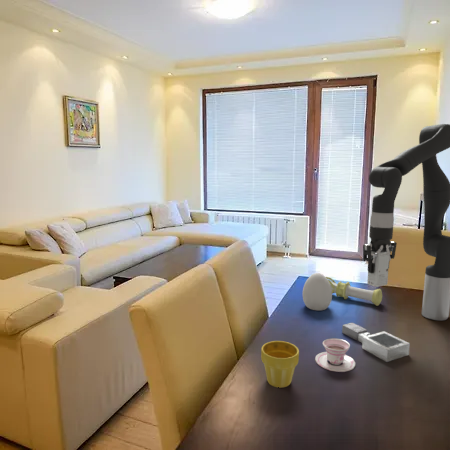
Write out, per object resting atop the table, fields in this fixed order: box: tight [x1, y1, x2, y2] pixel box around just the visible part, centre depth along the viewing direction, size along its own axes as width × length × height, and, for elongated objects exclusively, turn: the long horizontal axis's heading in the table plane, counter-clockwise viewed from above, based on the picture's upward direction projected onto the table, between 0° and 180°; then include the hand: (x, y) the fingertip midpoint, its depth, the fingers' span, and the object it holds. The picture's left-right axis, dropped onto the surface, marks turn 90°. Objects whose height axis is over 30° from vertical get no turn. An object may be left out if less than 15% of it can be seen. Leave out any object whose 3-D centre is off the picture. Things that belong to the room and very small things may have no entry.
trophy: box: [325, 276, 383, 307], centre depth 175 cm, size 8×8×30 cm
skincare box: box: [367, 251, 390, 288], centre depth 137 cm, size 6×4×12 cm
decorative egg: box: [302, 272, 333, 311], centre depth 164 cm, size 12×12×15 cm
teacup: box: [314, 337, 356, 373], centre depth 119 cm, size 12×12×6 cm
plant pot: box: [260, 340, 300, 389], centre depth 108 cm, size 10×10×10 cm
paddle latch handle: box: [341, 322, 411, 363], centre depth 131 cm, size 10×22×4 cm, turn 27°
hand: (378, 271), depth 137 cm, fingers closed on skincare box, 6 cm apart
